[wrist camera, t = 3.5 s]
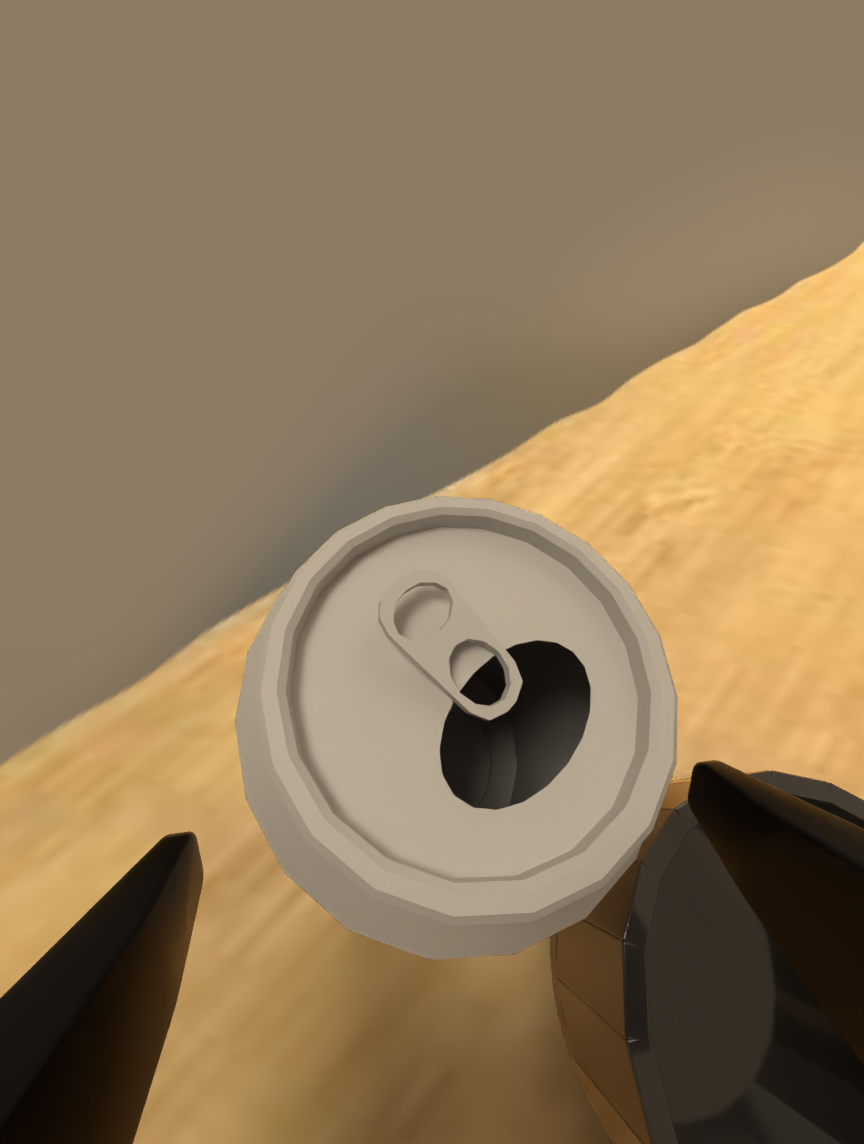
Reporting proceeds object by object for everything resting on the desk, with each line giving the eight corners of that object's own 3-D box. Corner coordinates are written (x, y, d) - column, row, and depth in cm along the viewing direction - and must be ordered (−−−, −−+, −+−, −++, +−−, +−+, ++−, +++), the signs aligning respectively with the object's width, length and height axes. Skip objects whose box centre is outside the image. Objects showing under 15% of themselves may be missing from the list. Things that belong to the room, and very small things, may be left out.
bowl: (888, 1352, 11) (1211, 1693, 7) (495, 1081, 13) (557, 1220, 8) (883, 880, 17) (1065, 905, 12) (605, 728, 18) (678, 701, 14)
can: (414, 929, 14) (522, 1255, 4) (270, 755, 16) (78, 651, 6) (548, 752, 17) (812, 661, 7) (413, 623, 19) (459, 400, 9)
